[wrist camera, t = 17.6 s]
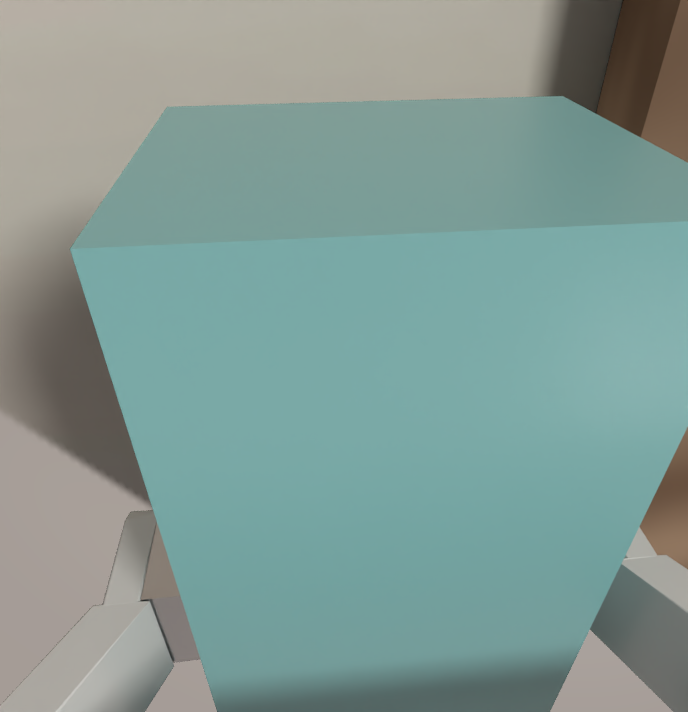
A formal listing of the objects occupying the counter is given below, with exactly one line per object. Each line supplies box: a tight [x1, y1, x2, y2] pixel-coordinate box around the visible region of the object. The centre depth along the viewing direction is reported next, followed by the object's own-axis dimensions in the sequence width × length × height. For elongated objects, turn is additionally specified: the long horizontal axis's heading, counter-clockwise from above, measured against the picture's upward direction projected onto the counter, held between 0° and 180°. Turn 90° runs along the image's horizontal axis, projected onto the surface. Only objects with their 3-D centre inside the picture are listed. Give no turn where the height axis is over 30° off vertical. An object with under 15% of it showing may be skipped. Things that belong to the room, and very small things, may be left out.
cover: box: [70, 96, 688, 712], centre depth 9 cm, size 13×5×4 cm, turn 0°
